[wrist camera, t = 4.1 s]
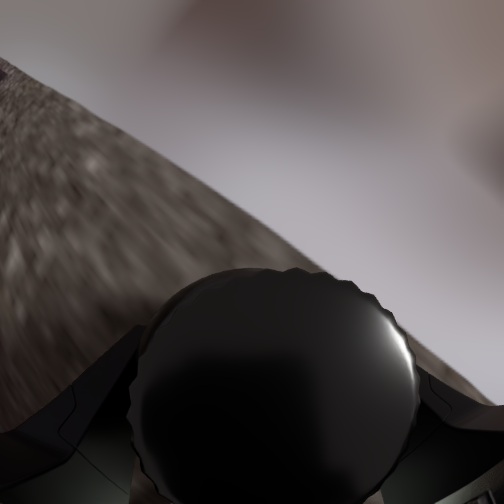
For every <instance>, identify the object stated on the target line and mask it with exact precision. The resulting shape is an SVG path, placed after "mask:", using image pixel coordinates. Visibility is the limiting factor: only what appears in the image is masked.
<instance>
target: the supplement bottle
mask: <svg viewBox="0 0 504 504" xmlns="http://www.w3.org/2000/svg"><path fill="white" fill-rule="evenodd" d="M131 381H132V383H131V384H130V386H129V396H130V401H131V405H130V407H129V409H128V412H127V415H126V418H127V421H128V424H129V426H130V428H131V431H132V437H131V444H130V445H131V447H132V448H133V450H134V452H135V453H136V454H137V456H138V457H139V458H140V467H141V471H142V472H143V473H144V474H145V475H146V476H147V477H148V478H149V479H150V480H151V481H153V483H154V485H155V489H156V491H157V493H158V494H159V495H161V496H162V497H164V498H165V499H167V500H169V501H171V502H172V504H363V503H364V502H365V501H366V500H367V498H369V497H370V496H372V495H373V494H375V493H376V492H377V491H379V490H380V488H381V487H382V485H383V483H384V482H385V480H386V479H387V478H388V477H390V476H391V475H392V474H393V473H394V472H395V470H396V468H397V466H398V463H399V461H400V459H401V458H402V456H403V455H404V454H405V453H406V451H407V450H408V447H409V441H410V437H411V436H412V434H413V432H414V430H415V428H416V425H417V416H416V415H417V412H418V409H419V406H420V403H421V402H420V396H419V392H418V391H419V385H420V376H419V374H418V372H417V370H416V356H415V354H414V352H413V351H412V350H411V349H410V347H409V344H408V339H407V335H406V333H405V332H404V331H403V330H402V329H401V328H400V327H399V326H397V323H396V320H395V318H394V316H393V314H392V312H390V311H389V310H387V309H384V308H383V307H382V306H381V305H380V303H379V302H378V300H377V299H376V297H375V296H374V295H373V294H370V293H365V292H362V291H361V290H360V289H359V288H358V287H357V285H355V284H354V283H353V282H352V281H347V280H337V279H335V278H334V277H333V276H332V275H330V274H328V273H327V272H318V273H313V274H311V273H309V272H307V271H305V270H302V269H299V268H297V267H296V268H292V269H289V270H286V271H284V272H281V271H277V270H272V269H263V268H242V269H233V270H227V271H223V272H219V273H215V274H212V275H209V276H207V277H204V278H201V279H199V280H197V281H195V282H193V283H191V284H190V285H188V286H186V287H185V288H183V289H181V290H180V291H179V292H177V293H176V294H175V295H173V296H172V297H171V298H170V299H169V300H168V301H167V302H166V303H165V304H163V305H162V307H161V308H160V309H159V310H158V311H157V312H156V313H155V315H154V316H153V318H152V319H151V320H150V322H149V323H148V325H147V327H146V328H145V330H144V332H143V334H142V336H141V338H140V341H139V343H138V346H137V349H136V352H135V356H134V361H133V367H132V380H131Z"/></svg>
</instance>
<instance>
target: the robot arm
mask: <svg viewBox="0 0 504 504" xmlns="http://www.w3.org/2000/svg"><path fill="white" fill-rule="evenodd" d="M146 327H147V325H136V326H135V327H133V328H132V329H131V330H130V331H129V332H128V333H127V334H126V335H124V336H123V337H122V338H121V339H120V340H119V341H118V342H117V343H116V344H114V345H113V346H112V347H111V348H110V349H109V350H108V351H107V352H105V353H104V354H103V355H102V356H101V357H100V358H99V359H98V360H97V361H96V362H94V363H93V364H92V365H91V366H90V367H89V368H88V369H87V370H86V371H85V372H83V373H82V374H81V375H80V376H79V377H78V378H77V379H76V380H75V381H74V382H73V383H72V385H69V386H68V387H67V388H66V389H65V390H64V391H63V392H62V393H60V394H59V395H58V396H57V397H56V398H55V399H54V400H52V401H51V402H50V403H49V404H47V405H46V406H45V407H44V408H42V409H41V410H40V411H38V412H37V413H36V414H34V415H33V416H31V417H30V418H29V419H27V420H26V421H25V422H23V423H22V424H21V425H19V426H18V427H16V428H15V429H13V430H11V431H8V432H4V433H0V504H129V498H130V489H131V482H132V475H133V468H134V462H135V456H136V453H135V452H134V450H133V448H132V447H131V445H130V444H131V437H132V431H131V428H130V426H129V424H128V421H127V418H126V415H127V412H128V409H129V407H130V405H131V401H130V396H129V386H130V384H131V383H132V381H131V380H132V367H133V361H134V356H135V352H136V349H137V346H138V343H139V341H140V338H141V336H142V334H143V332H144V330H145V328H146ZM416 370H417V372H418V374H419V376H420V385H419V391H418V392H419V396H420V402H421V403H420V406H419V409H418V412H417V415H416V416H417V425H416V428H415V430H414V432H413V434H412V436H411V437H410V441H409V447H408V450H407V451H406V453H405V454H404V455H403V456H402V458H401V459H400V461H399V463H398V466H397V468H396V470H395V472H394V473H393V474H392V475H391V476H390V477H388V478H387V479H386V480H385V482H384V483H383V485H382V487H381V488H380V490H381V493H382V497H383V501H384V504H504V405H499V406H488V405H484V404H481V403H479V402H477V401H475V400H473V399H471V398H470V397H468V396H466V395H464V394H462V393H460V392H459V391H457V390H455V389H453V388H452V387H450V386H448V385H446V384H445V383H443V382H442V381H440V380H439V379H437V378H436V377H434V376H433V375H431V374H428V372H427V371H425V370H424V369H422V368H421V367H419V366H418V365H416Z"/></svg>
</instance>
